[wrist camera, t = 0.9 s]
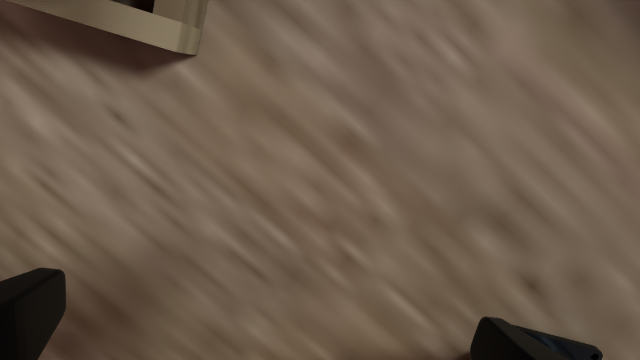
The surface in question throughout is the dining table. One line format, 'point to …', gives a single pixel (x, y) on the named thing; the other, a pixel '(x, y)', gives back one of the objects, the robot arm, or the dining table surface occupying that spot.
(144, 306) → the dining table surface
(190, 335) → the dining table surface
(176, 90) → the dining table surface
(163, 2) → the socket block
